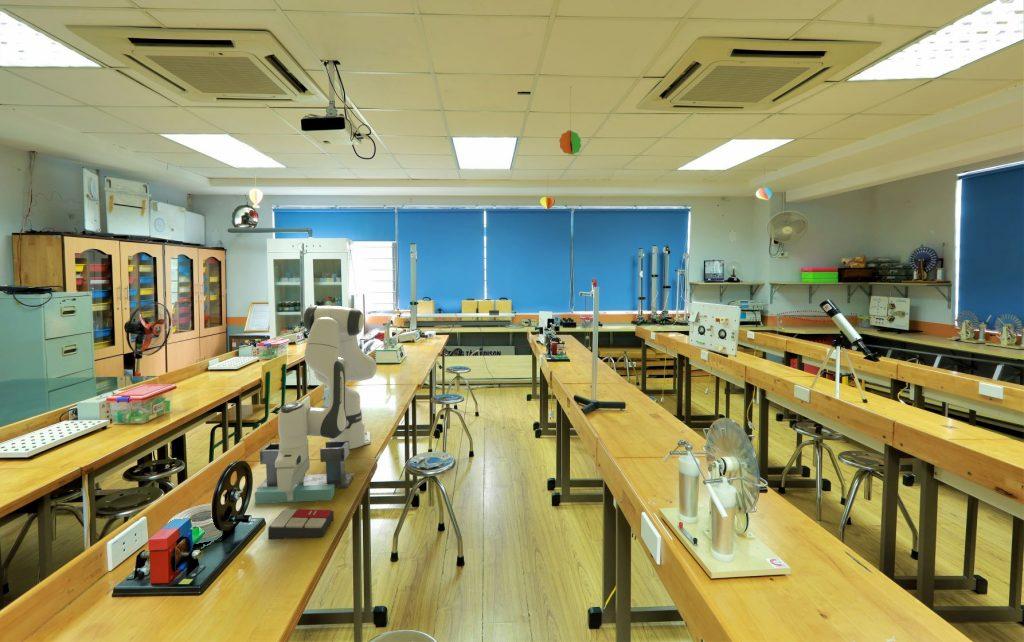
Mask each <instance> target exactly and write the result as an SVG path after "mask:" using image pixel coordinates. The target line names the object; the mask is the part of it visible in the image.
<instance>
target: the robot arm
mask: <svg viewBox="0 0 1024 642" xmlns="http://www.w3.org/2000/svg"><path fill="white" fill-rule="evenodd" d="M364 319H365V318H364V314H363V313H362V311H361V310H360V309H357V308H354V307H351V308H350V307H346V306H345V307H344V306H340V305H333V306H332V305H319V304H318V305H317V304H316V305H314V304H313V305H310V306H308V307H307V308H306V309H305V311H304V314H303V318H302V321H303V327H304V329H306V331H308V332H309V333H308V337H307V340H306V343H305V349H304V361H305V363H306V366H307V367H308V368H309V369H311V370H312V371H313V374H314V377H315V378H316V380H317V381H318V382H321V383H322V384H323V385H324V386H325V387H326V388H327V389H328V390H329V391H328V393H329V394H328V395H329V398H328V400H329V402H328V403H329V404H328V407H316V406H307V405H305V403H303V402H300V401H293V402H288V403H285V404H284V405H282V406H281V407H280V408H279V412H278V416H277V417H278V419H277V430H278V431H277V434H278V436H279V442H278V443H279V452H278V456H277V459H276V461H275V467H276V468H277V483H278V489H279V491H280V492H285V493H286V495H287V500H288V501H292V500H293V499H294V493H293V488H294V487H295V485H296V484H297V486H301V485H304V478H305V475H306V473H307V472H308V471H309V469H310V455H309V454H310V453H309V439H308V436H309V437H310V436H311V437H321V438H328V439H329V440H328V441H349V450H352V449H357V448H360V447H362V446H366V445H369V444H371V432H370V431H366V425H365V424H366V423H365V422H364V420H363V415H362V414H363V413H362V409H361V396H360V393H359V392H358V391H357V390H355V389H353V388H351V387H348V386H347V385H346V382H362V381H367V380H370V379H371V380H372V379H373V378H374V377H375V376H376V374H377V370H378V368H377V367H378V365H377V363H376V360H375V359H374V358H373V356H370V355H368V354H367V353H365V352H364V351H363V350H362V349H361V348H360V346H359V342H358V341H359V340H358V335H359V334H360V333H361V332H362V330H363V328H364V325H365V320H364Z"/></svg>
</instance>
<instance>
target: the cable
mask: <svg viewBox="0 0 1024 642" xmlns="http://www.w3.org/2000/svg"><path fill="white" fill-rule="evenodd" d="M183 518H190V519H191V520H192V526H193V527H195V526H196V527H200V528H201V529H202V530H204V531H205V534H204V535H203V537H202V539H203V540H204V539H210V538H215V537H217V536H219V535H220V531H219V530H217V529H216V528H215V525H214V522H213V519H212V517H211V503H210V502H209V503H204V504H200V505H196V506H192V507H190V508H188V509H187V508H186V509H185V510H182V511H181V512H179V513H177V514H175V515H174V516H172V518H170V519H169V520H168V522H167V524H168V523H169V522H170V521H172V520H174V519H183Z"/></svg>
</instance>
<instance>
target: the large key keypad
mask: <svg viewBox="0 0 1024 642" xmlns="http://www.w3.org/2000/svg"><path fill="white" fill-rule="evenodd" d="M334 514H335V512H334V510H332V509H316V508H315V509H314V508H313V509H311V508H309V509H308V508H305V509H304V508H303V509H301V508H298V509H283V510H282V511H281V512H280V513H279V515H278V516H277V517H276V518H275V519H274V521H272V523H271V524H270V525H269V526H268V529H267V532H268V533H267V534H268V535H267V537H268V540H284V539H321V538H324V536H325V535H326V533H327V531H328V529H329V528H330V526H331V525H330V524H332V523H333V521H334V520H333V519H335V518H334V516H335V515H334ZM331 522H332V523H331ZM328 527H329V528H328Z"/></svg>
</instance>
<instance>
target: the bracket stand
mask: <svg viewBox="0 0 1024 642" xmlns="http://www.w3.org/2000/svg"><path fill="white" fill-rule="evenodd" d="M278 452H279V442H276V443H275V442H273V443H267V444H266V445H265V446H264V447H263V448H262V449H261V450H260V451H259V464H260V465H265V470H266V478H265V479H264V481H262V483H261V484H259V486H257V487H256V491H257V490H258V489H259V488H260V487H276V486H278V483H277V468H276V467H275V461H276V459H277V456H278ZM349 455H350V449H349V441H329V440H327V441H326V442H325V447H321V448H320V449H319V456H320V458H319V459H320V463H325V473H323V474H305V478H304V485H326V484H334V489H347V488H349V486H350V484H351V482H352V480H353V479H354V477H353V476H355V474H354V472H353V473H352V472H350V473H346V459H347V458H348V456H349ZM352 478H353V479H352ZM295 486H297V484H296V485H295Z"/></svg>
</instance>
